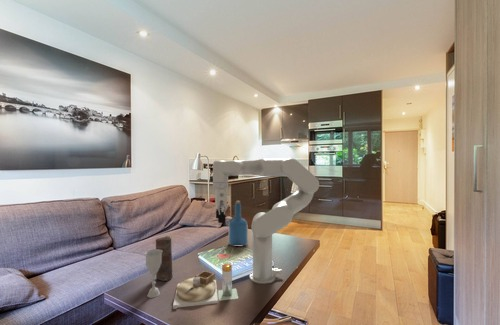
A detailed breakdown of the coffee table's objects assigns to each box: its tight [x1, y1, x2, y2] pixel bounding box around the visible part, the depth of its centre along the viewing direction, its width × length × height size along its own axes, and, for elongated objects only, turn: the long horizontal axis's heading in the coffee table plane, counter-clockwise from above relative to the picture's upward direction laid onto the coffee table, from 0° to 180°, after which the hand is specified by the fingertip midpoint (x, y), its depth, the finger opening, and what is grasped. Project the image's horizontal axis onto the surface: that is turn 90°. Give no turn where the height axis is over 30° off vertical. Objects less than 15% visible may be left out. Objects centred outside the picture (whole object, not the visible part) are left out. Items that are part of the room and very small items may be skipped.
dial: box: [176, 270, 217, 302], centre depth 101 cm, size 16×16×5 cm
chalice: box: [144, 248, 163, 299], centre depth 101 cm, size 7×7×18 cm
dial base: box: [172, 279, 219, 310], centre depth 101 cm, size 17×17×2 cm
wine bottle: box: [228, 200, 249, 246], centre depth 164 cm, size 14×13×30 cm
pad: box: [217, 287, 239, 302], centre depth 100 cm, size 8×8×1 cm
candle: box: [155, 235, 173, 282], centre depth 115 cm, size 8×7×20 cm
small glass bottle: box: [221, 263, 233, 297], centre depth 100 cm, size 4×4×12 cm
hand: (220, 220), depth 117 cm, fingers open, 9 cm apart
